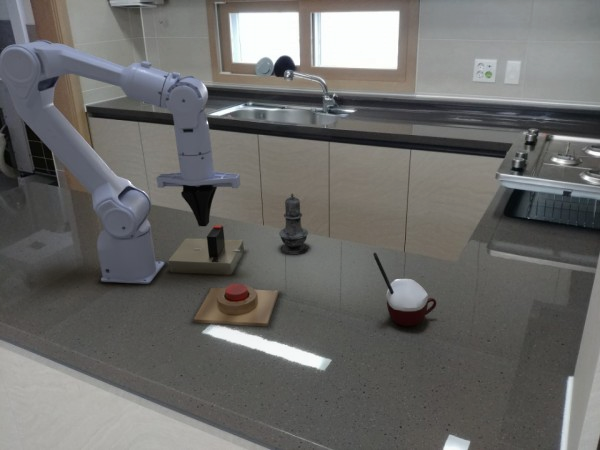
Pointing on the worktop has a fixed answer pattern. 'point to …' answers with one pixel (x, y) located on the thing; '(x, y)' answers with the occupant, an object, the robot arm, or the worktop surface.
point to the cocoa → (406, 300)
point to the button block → (237, 308)
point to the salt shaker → (293, 228)
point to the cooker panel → (206, 257)
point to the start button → (236, 292)
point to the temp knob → (215, 240)
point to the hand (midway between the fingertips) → (204, 224)
